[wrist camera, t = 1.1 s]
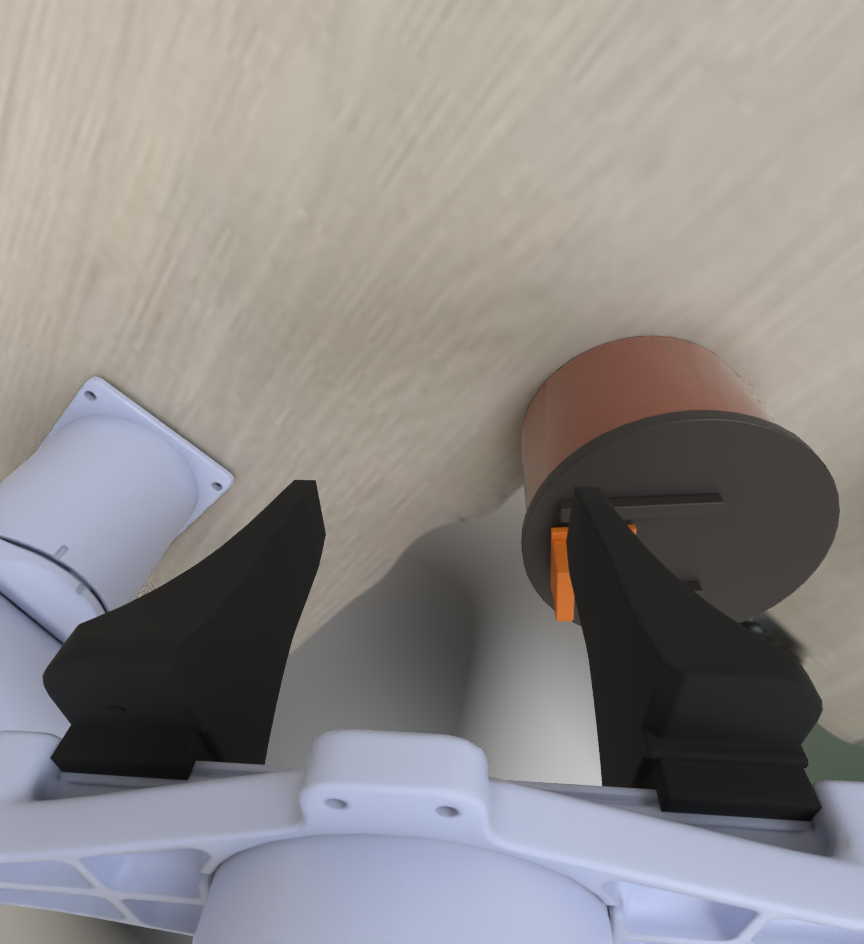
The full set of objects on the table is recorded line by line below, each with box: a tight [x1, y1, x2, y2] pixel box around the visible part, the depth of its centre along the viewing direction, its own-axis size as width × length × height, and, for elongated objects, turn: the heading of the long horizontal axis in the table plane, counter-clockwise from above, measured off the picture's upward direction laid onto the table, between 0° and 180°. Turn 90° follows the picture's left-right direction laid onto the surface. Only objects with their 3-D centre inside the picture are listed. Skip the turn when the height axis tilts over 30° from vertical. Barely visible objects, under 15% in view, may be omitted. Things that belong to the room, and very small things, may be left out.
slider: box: [551, 524, 636, 621], centre depth 19 cm, size 3×3×2 cm
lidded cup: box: [520, 336, 840, 626], centre depth 22 cm, size 11×11×8 cm
